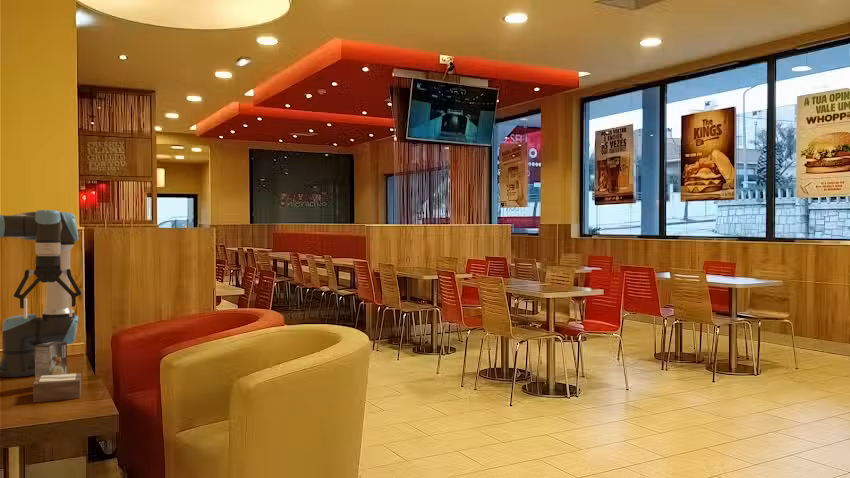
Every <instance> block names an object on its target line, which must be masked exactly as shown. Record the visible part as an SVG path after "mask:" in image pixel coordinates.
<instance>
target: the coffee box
mask: <svg viewBox="0 0 850 478" xmlns="http://www.w3.org/2000/svg"><path fill="white" fill-rule="evenodd" d="M59 374H68V345H67V342H57V341H52V342H48V343H43V344H39V345H35V374H34V376H35V377H34V380H35V379H36V377H37V376H45V375H59Z"/></svg>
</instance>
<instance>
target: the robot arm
mask: <svg viewBox="0 0 850 478" xmlns="http://www.w3.org/2000/svg"><path fill="white" fill-rule="evenodd" d="M0 238H13V239H20V240H26V241H35V255H37V256H35V269H34V270H33V269H29V268H28V269H25V271H24V276H23V278H22V279H21V282H20V283H19V284H18V287H17V288H16V290H15V292H14V294H13V298H17V299H18V300H19V308H20V309H23V314H20V315H14V316H9V317H7V318H5V319H4V320H3V322H2V329H1V332H2V348H1V349H2V354H1V355H2V357H1V358H0V378H22V377H28V376H35V345H39V344H43V343H48V342H52V341H57V342H67V346H68V345H72V344H73V343H74V342H75V341H76V336H77V330H78V323H79V315H76V313H75V310H74V309H73V307H76V304H77V302H76V301H77V297H79V296H81V295H82V291H81V289H80V287H79V285H78V284H77V282H76V280H75V278H74V277H73V275H72V268H71V250H72V249H73V248H74V246H75V244H76V242H77V241H79V239H80V238H79V231H78V224H77V219H76V216H75V214H74V213H72V212H66V211H65V212H64V211H59V210H55V209H39V210H38V209H37V210H36V211H29V212H28V211H27V212H21V213H15V214H11V215H5V214H4V215H3V214H0ZM33 274H34V275H35V277H36V279H35V280H34V281H33V282H32V283H31V284H30V285H29V287H27V289H26V290H25V291H24V292H23V293H22V294H21V292H22V290H23V288H24V286H25V285H26V283H27V282H28V280H29V277H32V276H33ZM40 282H41V283H46V305H47V308H46V307H45V310H44V311H42V313H41V314H42V316H41V317H37V314H36V313H28V298H26V297H27V296H28V294H30V293H31V291H32V290H33V289H34V288H35V287H36V286H37V285H38V284H39V283H40ZM71 286H72V287H73V289H74V291H75V292H74V291H73V290H72V289H71Z"/></svg>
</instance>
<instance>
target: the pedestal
mask: <svg viewBox="0 0 850 478" xmlns="http://www.w3.org/2000/svg"><path fill="white" fill-rule="evenodd" d="M81 392H82V372H75V373H67V374H59V375H45V376H37V377H36V379H35V378H34V381H33V384H32V402H33V403H40V402H41V403H42V402H52V401H62V400H63V401H65V400H71V399H72V400H75V399H76V400H77V399H81Z"/></svg>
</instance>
